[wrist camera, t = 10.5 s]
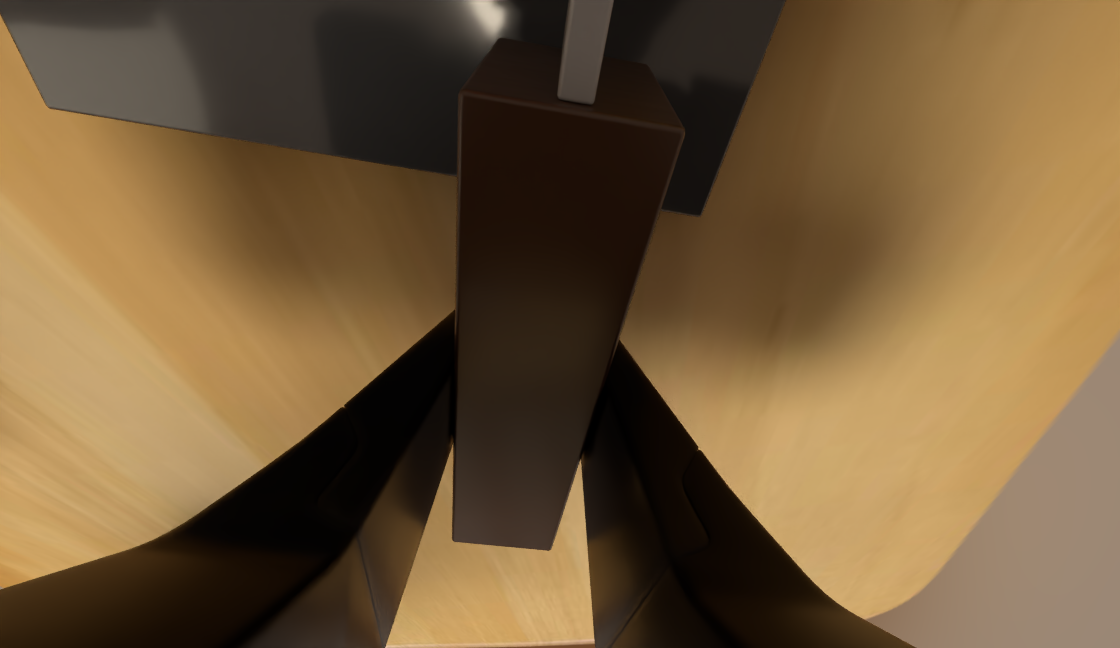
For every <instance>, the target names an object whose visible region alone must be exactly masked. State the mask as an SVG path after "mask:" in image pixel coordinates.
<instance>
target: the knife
mask: <svg viewBox="0 0 1120 648" xmlns="http://www.w3.org/2000/svg"><path fill="white" fill-rule="evenodd" d="M613 2H614V0H569V1H568V9H567V16H566V23H565V30H564V37H563V45H562V48H556V47H551V46H545V45H540V44H535V43H529V42H524V41H518V40H513V39H508V38H498V39H497V41H496V42H495V43H494V45H493V46H492V47H491V49H490V50H489V52H488V53H487V54H486V56H485V57H484V58H483V60H482V61H481V62H480V64H479V65H478V66H477V68H476V69H475V70H474V72H473V73H472V75H471V76H470V77H469V79H468V80H467V81H466V83H465V84H464V85H463V87H462V88H461V89H460V92H459V94H458V133H457V208H456V283H455V357H454V432H453V507H452V540H453V541H454V542H463V543H473V544H484V545H494V546H505V547H516V548H526V549H537V550H547V551H549V550H551V548H552V546H553V543H554V540H555V536H556V533H557V530H558V527H559V524H560V521H561V518H562V515H563V512H564V509H565V505H566V502H567V499H568V496H569V493H570V490H571V487H572V484H573V481H574V477H575V474H576V471H577V468H578V465H579V462H580V459H581V456H582V453H583V450H584V446H585V443H586V440H587V437H588V434H589V431H590V428H591V425H592V422H593V418H594V415H595V412H596V409H597V406H598V403H599V400H600V397H601V394H602V391H603V387H604V384H605V381H606V378H607V375H608V372H609V369H610V366H611V363H612V360H613V356H614V353H615V350H616V347H617V344H618V341H619V338H620V335H621V332H622V328H623V325H624V322H625V319H626V316H627V313H628V310H629V307H630V304H631V301H632V297H633V294H634V291H635V288H636V285H637V282H638V279H639V276H640V273H641V269H642V266H643V263H644V260H645V257H646V254H647V251H648V248H649V245H650V242H651V238H652V235H653V232H654V229H655V226H656V223H657V220H658V217H659V214H660V211H661V207H662V204H663V201H664V198H665V195H666V192H667V189H668V186H669V183H670V179H671V176H672V173H673V170H674V167H675V164H676V161H677V158H678V155H679V152H680V148H681V145H682V142H683V139H684V136H685V128H684V127H683V125H682V123H681V121H680V120H679V118H678V116H677V114H676V113H675V111H674V109H673V107H672V106H671V104H670V102H669V100H668V99H667V97H666V95H665V93H664V92H663V90H662V88H661V86H660V85H659V83H658V81H657V79H656V78H655V76H654V74H653V73H652V71H651V69H650V67H649V66H648V65H647V64H643V63H637V62H632V61H627V60H621V59H616V58H610V57H605V56H603V54H604V49H605V44H606V38H607V33H608V28H609V23H610V18H611V12H612V7H613Z"/></svg>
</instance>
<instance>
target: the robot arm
mask: <svg viewBox="0 0 1120 648" xmlns="http://www.w3.org/2000/svg"><path fill="white" fill-rule="evenodd" d="M454 357H455V310H454V311H453V312H452V313H450V314H449V315H448V316H447V317H446V318H445V319H444V320H442V321H441V322H440V323H439V324H438V325H437V326H435V327H434V328H433V329H432V330H431V331H430V332H428V333H427V334H426V335H425V336H424V337H423V338H421V339H420V340H419V341H418V342H417V343H416V344H414V345H413V346H412V347H411V348H410V349H409V350H407V351H406V352H405V353H404V354H403V355H402V356H401V357H399V358H398V359H397V360H396V361H395V362H394V363H392V364H391V365H390V366H389V367H388V368H387V369H385V370H384V371H383V372H382V373H381V374H380V375H378V376H377V377H376V378H375V379H374V380H373V381H371V382H370V383H369V384H368V385H367V386H366V387H364V388H363V389H362V390H361V391H360V392H359V393H358V394H356V395H355V396H354V397H353V398H352V399H351V400H349V401H348V402H347V403H346V404H345V405H344V407H341V408H340V409H339V410H337V411H336V412H335V413H334V414H333V415H332V416H331V417H329V418H328V419H327V420H326V421H325V422H323V423H322V424H321V425H320V426H318V427H317V428H316V429H315V430H314V431H312V432H311V433H310V434H309V435H307V436H306V437H305V438H304V439H302V440H301V441H300V442H298V443H297V444H296V445H294V446H293V447H292V448H290V449H289V450H288V451H286V452H285V453H284V454H282V455H281V456H279V457H278V458H277V459H275V460H274V461H273V462H271V463H270V464H268V465H267V466H266V467H264V468H263V469H261V470H260V471H258V472H257V473H256V474H254V475H253V476H251V477H250V478H248V479H247V480H246V481H244V482H243V483H241V484H240V485H238V486H237V487H236V488H234V489H233V490H231V491H230V492H228V493H227V494H226V495H224V496H223V497H221V498H220V499H218V500H217V501H216V502H214V503H213V504H211V505H210V506H208V507H207V508H206V509H204V510H203V511H201V512H200V513H198V514H197V515H196V516H194V517H192V518H191V519H189V520H188V521H186V522H185V523H183V524H182V525H180V526H178V527H177V528H175V529H173V530H171V531H170V532H168V533H166V534H164V535H162V536H160V537H158V538H156V539H154V540H152V541H149V542H147V543H145V544H142V545H140V546H137V547H135V548H132V549H129V550H126V551H123V552H119V553H116V554H113V555H110V556H106V557H103V558H100V559H97V560H94V561H90V562H87V563H84V564H81V565H78V566H74V567H71V568H68V569H65V570H62V571H58V572H55V573H52V574H49V575H45V576H42V577H39V578H36V579H33V580H29V581H26V582H23V583H20V584H17V585H13V586H10V587H7V588H4V589H1V590H0V648H385V646H386V643H387V640H388V637H389V634H390V631H391V628H392V625H393V622H394V619H395V616H396V613H397V610H398V607H399V604H400V601H401V598H402V595H403V592H404V589H405V586H406V583H407V580H408V577H409V574H410V571H411V568H412V565H413V562H414V559H415V556H416V553H417V550H418V547H419V544H420V541H421V538H422V535H423V532H424V529H425V526H426V523H427V520H428V517H429V514H430V511H431V508H432V505H433V502H434V499H435V496H436V493H437V490H438V487H439V484H440V481H441V478H442V475H443V472H444V469H445V466H446V463H447V460H448V457H449V453H450V450H451V447H452V444H453V432H454ZM697 450H698V446H697V444H696V443H695V442H694V440H693V439H692V438H691V436H690V435H689V434H688V432H687V431H686V430H685V428H684V427H683V425H682V424H681V423H680V421H679V420H678V419H677V417H676V416H675V415H674V413H673V412H672V411H671V409H670V408H669V406H668V405H667V404H666V402H665V401H664V400H663V398H662V397H661V396H660V394H659V393H658V392H657V390H656V389H655V388H654V386H653V385H652V383H651V382H650V381H649V379H648V378H647V377H646V375H645V374H644V373H643V371H642V370H641V369H640V367H639V366H638V364H637V363H636V362H635V360H634V359H633V358H632V356H631V355H630V354H629V352H628V351H627V350H626V348H625V347H624V345H623V344H622V343H621V341H620V340H619V341H618V344H617V347H616V350H615V353H614V356H613V360H612V363H611V366H610V369H609V372H608V375H607V378H606V381H605V384H604V387H603V391H602V394H601V397H600V400H599V403H598V406H597V409H596V412H595V415H594V418H593V422H592V425H591V428H590V431H589V434H588V437H587V440H586V443H585V446H584V450H583V453H582V456H581V465H582V478H583V492H584V505H585V519H586V532H587V545H588V559H589V572H590V586H591V599H592V612H593V626H594V639H595V648H916V647H914V646H912V645H910V644H908V643H907V642H905V641H902V640H901V639H899V638H897V637H896V636H894V635H892V634H890V633H888V632H886V631H884V630H883V629H881V628H879V627H877V626H875V625H873V624H872V623H870V622H868V621H866V620H864V619H862V618H860V617H859V616H857V615H855V614H853V613H852V612H850V611H848V610H847V609H845V608H844V607H842V606H841V605H839V604H838V603H837V602H835V601H834V600H833V599H832V598H830V597H829V596H828V595H826V594H825V593H824V592H823V591H822V590H821V589H820V588H819V587H818V586H817V585H816V584H815V583H814V582H813V581H812V580H811V579H810V578H809V577H808V576H807V575H806V574H805V573H804V572H803V571H802V570H801V568H800V567H799V566H798V565H797V564H796V563H795V562H794V561H793V559H792V558H791V557H790V556H789V555H788V554H787V553H786V552H785V551H784V549H783V548H782V547H781V546H780V545H779V544H778V543H777V542H776V540H775V539H774V538H773V537H772V536H771V535H770V534H769V533H768V531H767V530H766V529H765V528H764V527H763V526H762V525H761V524H760V522H759V521H758V520H757V519H756V518H755V517H754V516H753V515H752V513H751V512H750V511H749V510H748V509H747V508H746V506H745V505H744V504H743V503H742V502H741V501H740V499H739V498H738V497H737V496H736V495H735V494H734V492H733V491H732V490H731V489H730V488H729V486H728V485H727V484H726V483H725V481H724V480H723V479H722V477H721V476H720V475H719V474H718V472H717V471H716V470H715V468H714V467H713V466H712V464H711V463H710V462H709V460H708V459H707V458H706V456H705V455H704V454H703V452H702V451H701V450H698V451H697Z"/></svg>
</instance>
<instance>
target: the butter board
mask: <svg viewBox="0 0 1120 648" xmlns="http://www.w3.org/2000/svg"><path fill="white" fill-rule="evenodd" d="M568 1H569V0H0V15H1V17H2V19H3V21H4V23H5V25H6V27H7V29H8V31H9V33H10V35H11V37H12V39H13V41H14V43H15V45H16V47H17V49H18V51H19V52H20V54H21V56H22V58H23V60H24V62H25V64H26V66H27V68H28V70H29V72H30V74H31V76H32V78H33V80H34V82H35V84H36V86H37V88H38V90H39V92H40V94H41V96H42V98H43V100H44V102H45V104H46V106H47V107H48V108H50V109H56V110H62V111H68V112H74V113H80V114H86V115H92V116H98V117H104V118H110V119H116V120H122V121H128V122H134V123H140V124H146V125H152V126H158V127H164V128H170V129H176V130H182V131H187V132H193V133H199V134H205V135H211V136H217V137H223V138H229V139H235V140H241V141H247V142H253V143H259V144H265V145H271V146H277V147H283V148H289V149H295V150H301V151H307V152H313V153H319V154H325V155H331V156H337V157H343V158H349V159H355V160H361V161H367V162H373V163H379V164H384V165H390V166H396V167H402V168H408V169H414V170H420V171H426V172H432V173H438V174H444V175H450V176H456V177H457V133H458V94H459V92H460V89H461V88H462V87H463V85H464V84H465V83H466V81H467V80H468V79H469V77H470V76H471V75H472V73H473V72H474V70H475V69H476V68H477V66H478V65H479V64H480V62H481V61H482V60H483V58H484V57H485V56H486V54H487V53H488V52H489V50H490V49H491V47H492V46H493V45H494V43H495V42H496V41H497V39H498V38H508V39H513V40H518V41H524V42H529V43H535V44H540V45H545V46H551V47H556V48H562V45H563V37H564V30H565V23H566V16H567V9H568ZM785 2H786V0H614V2H613V7H612V12H611V18H610V23H609V28H608V33H607V38H606V44H605V49H604V54H603V56H605V57H610V58H616V59H621V60H627V61H632V62H637V63H643V64H647V65H648V66H649V67H650V69H651V71H652V73H653V74H654V76H655V78H656V79H657V81H658V83H659V85H660V86H661V88H662V90H663V92H664V93H665V95H666V97H667V99H668V100H669V102H670V104H671V106H672V107H673V109H674V111H675V113H676V114H677V116H678V118H679V120H680V121H681V123H682V125H683V127H684V128H685V136H684V139H683V142H682V145H681V148H680V152H679V155H678V158H677V161H676V164H675V167H674V170H673V173H672V176H671V179H670V183H669V186H668V189H667V192H666V195H665V198H664V201H663V204H662V207H661V211H665V212H671V213H677V214H683V215H689V216H695V217H701V216H702V214H703V211H704V208H705V206H706V203H707V201H708V198H709V196H710V193H711V191H712V188H713V186H714V183H715V180H716V178H717V175H718V173H719V170H720V168H721V165H722V163H723V160H724V157H725V155H726V152H727V150H728V147H729V145H730V142H731V140H732V137H733V135H734V132H735V129H736V127H737V124H738V122H739V119H740V117H741V114H742V112H743V109H744V106H745V104H746V101H747V99H748V96H749V94H750V91H751V89H752V86H753V84H754V81H755V78H756V76H757V73H758V71H759V68H760V66H761V63H762V61H763V58H764V55H765V53H766V50H767V48H768V45H769V43H770V40H771V38H772V35H773V33H774V30H775V27H776V25H777V22H778V20H779V17H780V15H781V12H782V10H783V7H784V4H785Z"/></svg>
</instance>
